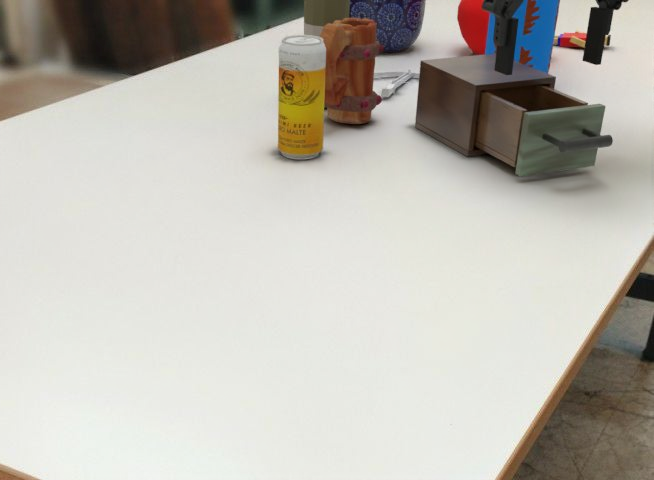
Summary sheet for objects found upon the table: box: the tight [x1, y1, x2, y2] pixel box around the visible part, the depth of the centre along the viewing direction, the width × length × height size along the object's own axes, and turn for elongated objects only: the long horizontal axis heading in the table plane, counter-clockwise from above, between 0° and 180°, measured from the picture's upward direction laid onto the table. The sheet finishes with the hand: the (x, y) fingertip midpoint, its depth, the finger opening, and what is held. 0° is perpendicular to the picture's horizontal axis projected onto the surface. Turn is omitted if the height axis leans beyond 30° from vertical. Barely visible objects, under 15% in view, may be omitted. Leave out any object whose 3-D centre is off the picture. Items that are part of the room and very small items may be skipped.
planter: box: [349, 0, 427, 54], centre depth 179 cm, size 17×17×15 cm
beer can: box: [277, 34, 326, 161], centre depth 123 cm, size 6×6×15 cm
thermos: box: [485, 0, 561, 74], centre depth 152 cm, size 11×11×25 cm
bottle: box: [303, 0, 350, 109], centre depth 140 cm, size 7×7×30 cm
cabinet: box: [414, 53, 557, 158], centre depth 132 cm, size 15×13×10 cm
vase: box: [456, 0, 560, 55], centre depth 173 cm, size 18×18×19 cm
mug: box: [320, 18, 384, 125], centre depth 135 cm, size 15×8×15 cm, turn 149°
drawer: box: [474, 84, 614, 177], centre depth 120 cm, size 18×11×8 cm, turn 22°
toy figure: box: [553, 30, 612, 48], centre depth 185 cm, size 2×7×12 cm
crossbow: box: [374, 69, 420, 98], centre depth 157 cm, size 16×13×2 cm
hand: (548, 67), depth 117 cm, fingers open, 13 cm apart
